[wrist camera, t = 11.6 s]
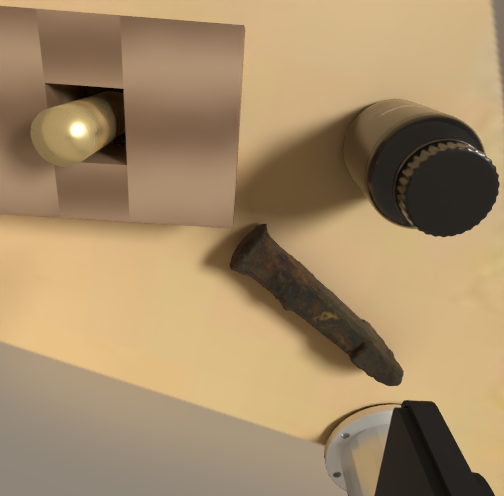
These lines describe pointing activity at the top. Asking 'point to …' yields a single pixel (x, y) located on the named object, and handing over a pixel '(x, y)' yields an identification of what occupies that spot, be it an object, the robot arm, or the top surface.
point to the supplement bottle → (420, 167)
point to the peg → (78, 128)
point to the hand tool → (315, 304)
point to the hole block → (136, 116)
